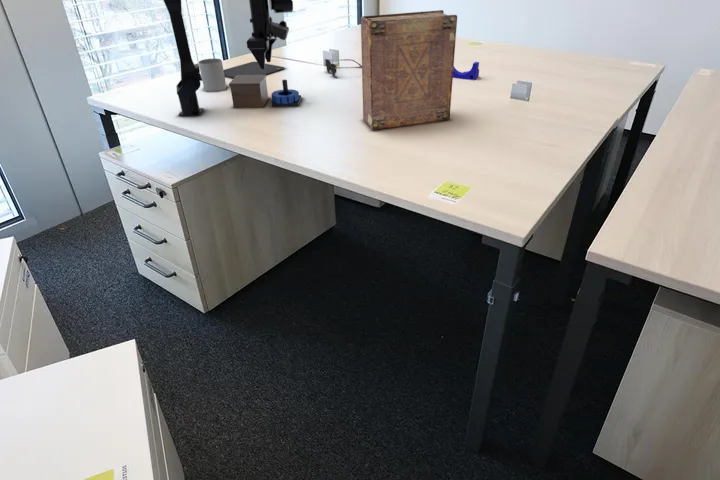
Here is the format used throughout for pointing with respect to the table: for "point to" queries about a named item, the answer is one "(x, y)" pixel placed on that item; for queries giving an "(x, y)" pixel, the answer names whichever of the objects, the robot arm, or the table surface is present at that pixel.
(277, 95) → the ring
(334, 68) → the sunglasses
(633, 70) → the table surface
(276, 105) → the peg stand
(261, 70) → the mouse pad
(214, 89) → the cup
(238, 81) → the box
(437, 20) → the book
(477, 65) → the cable clip
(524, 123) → the table surface
